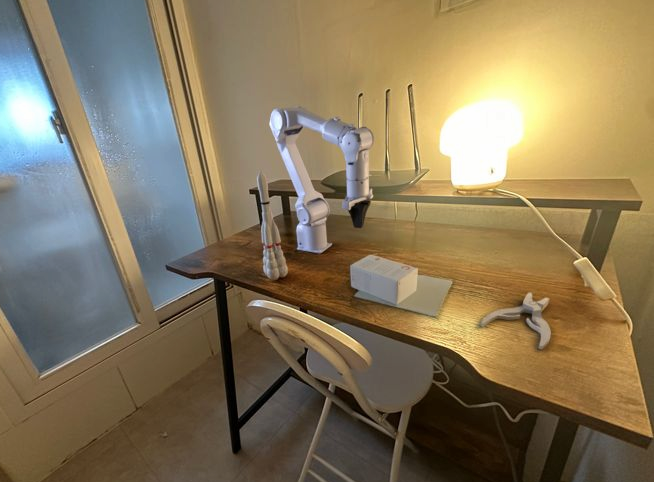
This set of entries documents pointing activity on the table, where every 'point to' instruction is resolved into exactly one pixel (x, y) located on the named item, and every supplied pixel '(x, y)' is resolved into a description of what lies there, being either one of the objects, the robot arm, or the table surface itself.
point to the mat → (419, 296)
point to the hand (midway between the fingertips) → (358, 227)
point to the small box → (384, 278)
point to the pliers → (537, 318)
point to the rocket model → (270, 236)
